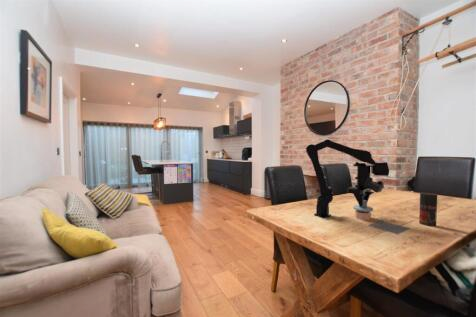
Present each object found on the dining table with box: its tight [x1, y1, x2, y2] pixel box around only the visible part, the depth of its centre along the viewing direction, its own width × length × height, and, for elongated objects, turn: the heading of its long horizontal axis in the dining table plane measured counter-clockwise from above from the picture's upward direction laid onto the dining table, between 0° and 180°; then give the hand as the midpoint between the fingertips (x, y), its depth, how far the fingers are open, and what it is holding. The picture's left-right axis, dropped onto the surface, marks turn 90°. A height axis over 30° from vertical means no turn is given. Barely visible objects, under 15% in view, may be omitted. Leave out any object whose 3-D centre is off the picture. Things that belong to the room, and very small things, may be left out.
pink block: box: [354, 209, 372, 221], centre depth 109 cm, size 6×6×4 cm
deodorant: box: [418, 192, 438, 227], centre depth 99 cm, size 6×6×15 cm
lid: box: [353, 200, 374, 213], centre depth 109 cm, size 8×8×4 cm
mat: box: [367, 220, 411, 235], centre depth 96 cm, size 12×12×1 cm
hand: (362, 205), depth 109 cm, fingers closed on lid, 3 cm apart
